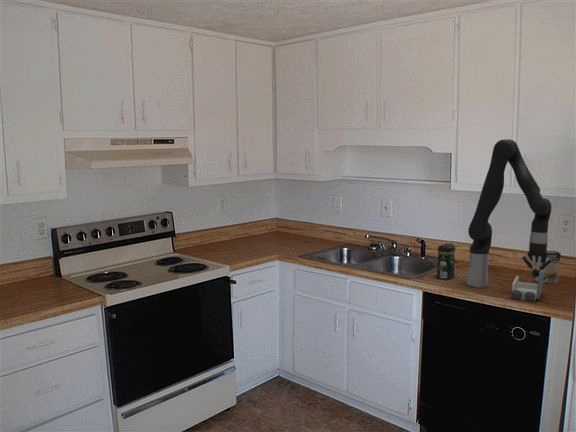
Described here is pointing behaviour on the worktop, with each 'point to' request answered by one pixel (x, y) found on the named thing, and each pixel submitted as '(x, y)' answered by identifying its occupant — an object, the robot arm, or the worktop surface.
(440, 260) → the coffee jar
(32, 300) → the worktop surface
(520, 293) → the cart
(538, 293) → the tailgate
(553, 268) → the coffee box
